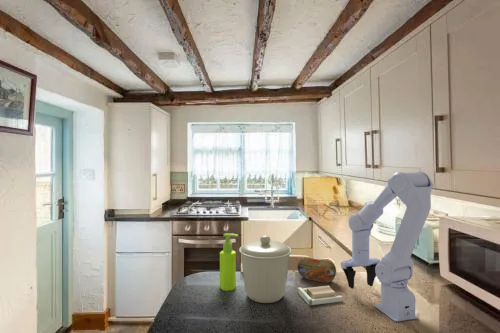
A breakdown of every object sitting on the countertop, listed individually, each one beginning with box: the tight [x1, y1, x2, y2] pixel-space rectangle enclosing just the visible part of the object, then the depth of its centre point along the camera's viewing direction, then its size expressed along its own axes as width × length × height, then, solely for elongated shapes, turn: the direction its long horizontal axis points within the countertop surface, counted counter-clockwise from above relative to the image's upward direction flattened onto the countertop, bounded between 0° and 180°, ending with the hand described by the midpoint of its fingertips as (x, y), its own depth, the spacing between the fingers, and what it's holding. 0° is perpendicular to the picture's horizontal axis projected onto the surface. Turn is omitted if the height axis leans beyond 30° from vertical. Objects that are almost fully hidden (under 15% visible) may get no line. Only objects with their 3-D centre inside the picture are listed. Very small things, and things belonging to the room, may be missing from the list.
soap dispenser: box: [219, 232, 239, 292], centre depth 106 cm, size 6×7×20 cm
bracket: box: [297, 285, 343, 306], centre depth 98 cm, size 9×12×2 cm
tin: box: [297, 256, 337, 283], centre depth 113 cm, size 15×3×8 cm, turn 62°
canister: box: [238, 235, 293, 304], centre depth 99 cm, size 18×18×21 cm
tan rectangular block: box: [306, 285, 336, 299], centre depth 98 cm, size 5×8×3 cm, turn 104°
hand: (360, 286), depth 102 cm, fingers open, 7 cm apart
